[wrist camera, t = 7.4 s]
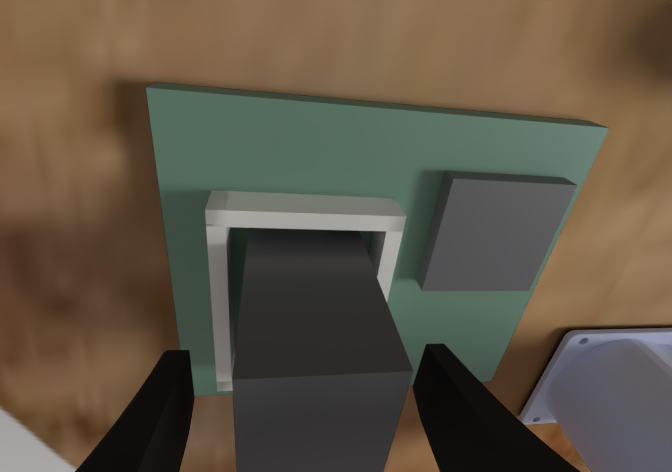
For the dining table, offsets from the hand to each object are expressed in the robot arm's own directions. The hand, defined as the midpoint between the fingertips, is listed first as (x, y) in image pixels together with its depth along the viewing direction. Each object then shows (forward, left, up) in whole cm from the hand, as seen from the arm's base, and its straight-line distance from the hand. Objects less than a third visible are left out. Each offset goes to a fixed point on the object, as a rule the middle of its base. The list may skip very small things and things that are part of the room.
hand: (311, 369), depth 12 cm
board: (-3, 0, -6) cm, 6 cm away
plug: (0, 0, -5) cm, 5 cm away
